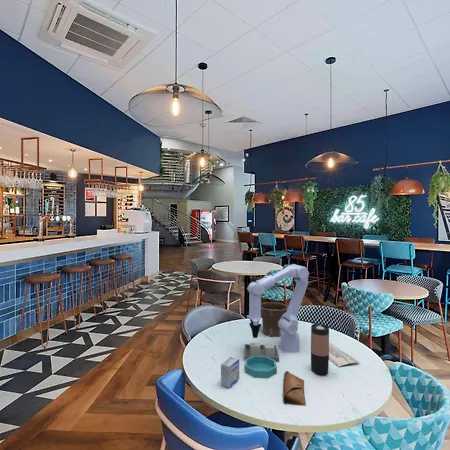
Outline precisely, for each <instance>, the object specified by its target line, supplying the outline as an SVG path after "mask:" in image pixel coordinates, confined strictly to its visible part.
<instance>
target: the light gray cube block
mask: <svg viewBox="0 0 450 450" xmlns="http://www.w3.org/2000/svg"><path fill="white" fill-rule="evenodd" d="M263 345H264V355H265V356H267V357H274V356H275V347H274V346H273V345H274V344H273V343H269V344H268V343H267V344H263Z"/></svg>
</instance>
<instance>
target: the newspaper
mask: <svg viewBox="0 0 450 450" xmlns="http://www.w3.org/2000/svg"><path fill="white" fill-rule="evenodd" d="M329 362H332V363H333V364H334V365H335V366H336V367H337V368H340V367H341V366H345V365H349V364H350V365H352V366H353V365H354V366H357V365H359V363H360V361H359V360H357V359H355V357H352V356H351V355H349V354H348V353H346V352H344V351H343V350H341V349H339V348H338V347H337V346H335V345H334V344H333V343H331V342H329Z"/></svg>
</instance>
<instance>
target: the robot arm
mask: <svg viewBox="0 0 450 450" xmlns="http://www.w3.org/2000/svg"><path fill="white" fill-rule="evenodd" d="M309 275H310V272H309V271H308V268H307V267H305V266H303V265H298V264H295V263H291V264H289V265H287V266H286V267H284V268H283V269H282V270H280V271H279V272H276V273H275V274H273V275H272V276H271V275H264V277H262V278H261V279H257V280H256V281H252V282H250V283H249V284H248V286H247V288H246V290H247V291H248V293H249V297H248V299H249V300H248V301H249V303H248V305H249V306H248V307H249V309H248V310H249V311H248V315H246V318H247V319H249V320H250V321H249V327H250V328H251V329H250V330H251V333H252V338H253V339H258V338H259V333H260V329H261V328H262V323H259V322H260V320H262V313H261V304H262V295H263V293H264V292H265V291H267V290H268V289H271V288H273V287H274V286H275V284H276V283H277V282H279V281H281V280H283V279H286V278H288V277H291V278H293V280H294V282H295V287H294V290H293V292H292V296H291V298H290V300H289V304H288V306H287V311H286V313H284V314H283V315H282V317H281V319H280V320H279V322H278V326H279V328H280V331H281V336H279V337H280V345H278V348H279V351H280V353H281V354H284V353H285V354H301V353H300V343H301V342H300V334H299V332H298V329H299V326H298V325H299V319H298V317H297V316H298V314H299V311H300V308H301V305H302V302H303V299H304V297H305V294H306V290H307V288H308V285H309Z"/></svg>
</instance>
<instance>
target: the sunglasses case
mask: <svg viewBox="0 0 450 450" xmlns="http://www.w3.org/2000/svg"><path fill="white" fill-rule="evenodd" d="M282 398H283V403H284V404H285V405H292V406H304V407H306V406H307V403H306V402H307V401H306V399H305V380H304V379H302V378H300V377H298V376H297V375H294V374H292V373H290V372H289V371H288V370H286V371H285V372H284V373H283V395H282Z"/></svg>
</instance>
